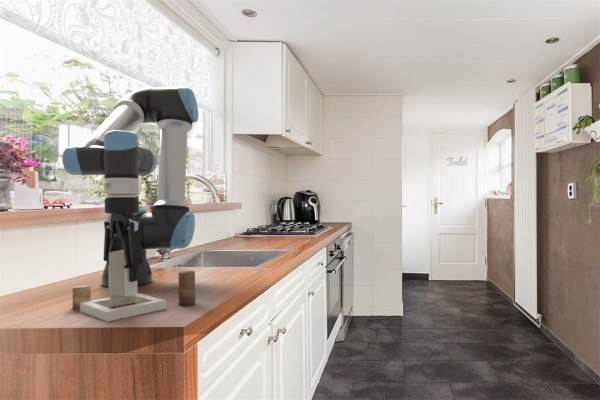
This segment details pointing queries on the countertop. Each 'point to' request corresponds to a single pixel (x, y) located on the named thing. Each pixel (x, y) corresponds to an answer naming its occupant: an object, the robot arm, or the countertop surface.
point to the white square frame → (106, 313)
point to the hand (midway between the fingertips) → (122, 293)
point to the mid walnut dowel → (186, 288)
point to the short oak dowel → (81, 295)
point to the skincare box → (118, 279)
